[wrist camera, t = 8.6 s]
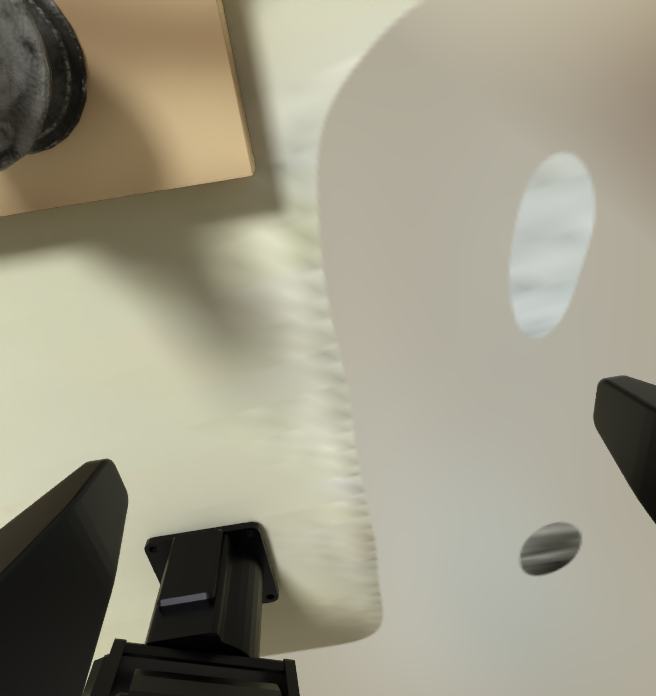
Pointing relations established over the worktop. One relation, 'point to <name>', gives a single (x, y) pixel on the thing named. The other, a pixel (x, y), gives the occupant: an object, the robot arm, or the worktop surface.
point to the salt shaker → (37, 78)
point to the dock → (142, 108)
